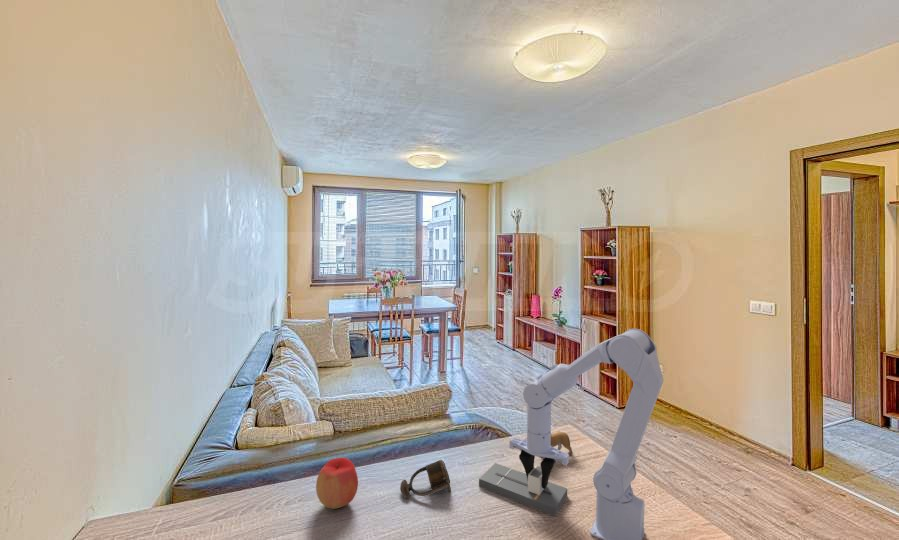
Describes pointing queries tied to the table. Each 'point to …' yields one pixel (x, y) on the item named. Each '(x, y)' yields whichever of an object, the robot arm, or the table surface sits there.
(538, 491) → the fader knob
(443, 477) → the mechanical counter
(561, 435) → the lion figurine
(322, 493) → the apple
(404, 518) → the table surface
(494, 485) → the fader console
